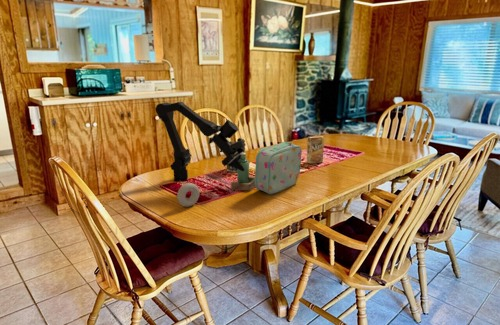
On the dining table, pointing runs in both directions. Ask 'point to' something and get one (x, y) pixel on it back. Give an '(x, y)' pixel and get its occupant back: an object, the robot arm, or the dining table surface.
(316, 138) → the candy box
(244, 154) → the bottle
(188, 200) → the donut
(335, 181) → the dining table surface
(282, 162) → the lunch box
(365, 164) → the dining table surface
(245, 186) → the rest
